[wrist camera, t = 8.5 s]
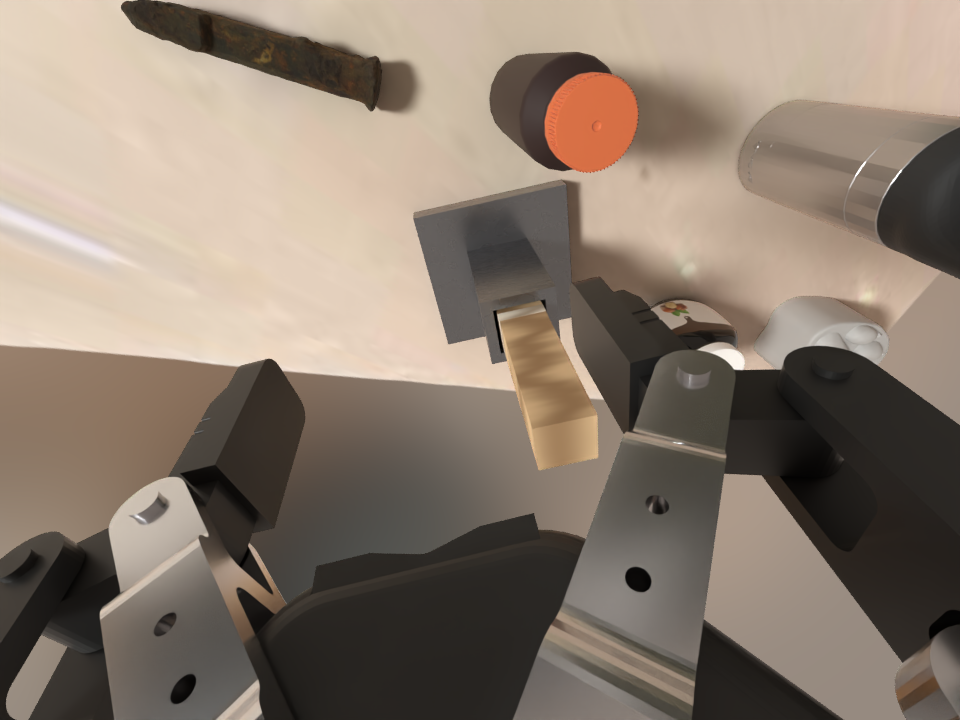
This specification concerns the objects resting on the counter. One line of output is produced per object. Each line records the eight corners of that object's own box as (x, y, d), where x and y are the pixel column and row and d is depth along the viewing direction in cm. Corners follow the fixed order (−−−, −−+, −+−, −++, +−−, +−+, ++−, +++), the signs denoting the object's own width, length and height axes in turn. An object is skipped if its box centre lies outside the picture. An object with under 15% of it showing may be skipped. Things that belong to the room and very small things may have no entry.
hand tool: (385, 59, 37) (381, 59, 33) (377, 110, 39) (373, 115, 35) (135, -36, 32) (96, -49, 28) (141, 28, 34) (106, 24, 30)
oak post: (528, 275, 41) (597, 414, 25) (532, 310, 44) (598, 457, 27) (488, 284, 41) (532, 428, 25) (494, 318, 44) (538, 470, 27)
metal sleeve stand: (560, 179, 44) (609, 221, 33) (568, 308, 54) (608, 375, 42) (413, 212, 44) (411, 265, 33) (447, 335, 54) (455, 409, 42)
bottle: (499, 148, 42) (549, 205, 25) (480, 69, 38) (525, 77, 21) (564, 125, 41) (658, 168, 25) (552, 42, 37) (654, 30, 21)
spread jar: (709, 293, 55) (769, 341, 45) (686, 362, 61) (734, 417, 52) (622, 299, 54) (664, 350, 44) (607, 369, 60) (642, 426, 51)
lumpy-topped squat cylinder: (784, 293, 56) (835, 326, 49) (863, 299, 58) (923, 332, 51) (745, 356, 62) (786, 393, 55) (819, 359, 64) (867, 396, 57)
